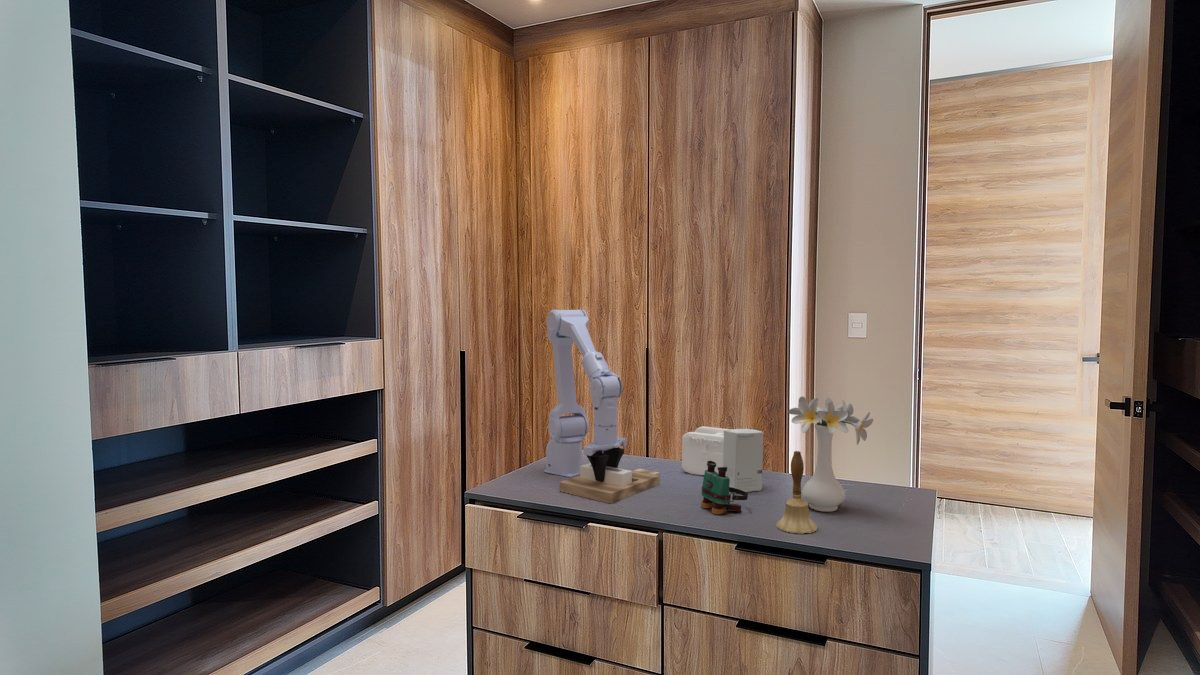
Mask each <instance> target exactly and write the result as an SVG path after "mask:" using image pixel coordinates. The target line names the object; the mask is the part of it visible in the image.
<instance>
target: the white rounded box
mask: <svg viewBox="0 0 1200 675" xmlns="http://www.w3.org/2000/svg"><path fill="white" fill-rule="evenodd" d="M724 430H730V428H723V427H722V428H721V427H713V426H704V425H702V426H700V427H697V428H695V430H694V431H689V432H686V433H684V434H683V435H682V437H681V468H682V470H683V471H684V472H686V473H688V474H690V475H694V474H695V475H696V476H704V473H705V470H708V466H707V461H713V462H715V463H716V467H715V472H717V473H718V467H723V450H724Z"/></svg>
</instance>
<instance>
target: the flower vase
mask: <svg viewBox="0 0 1200 675" xmlns="http://www.w3.org/2000/svg"><path fill="white" fill-rule="evenodd" d="M824 406H825V407H824V408H823V407H819V398H818V397H815V398H813V399H811V400H810V402H808V400H807V398H806V397H805V396H803V395H802V396H800V397H799V398H798V407H792V408H790V409H789V410H788V412H787V413H788V414H790V415H793V417H792V418H791V423H793V424H795V425H796V424H802V425H801V427H800V428H801V432H802V433H806V432H808V430H809V428H810V426H811V425H812V424H814V428H815V430H816V436H817V454H816V455H817V456H816V466H815V470H814V473H813V474H812V476H811V478H810V479H809V480H807V482H806V483H805V484H804V486H803V488H802V489H801V495H802V496H803V498H804V501H806V502H807V503H808V508H810V509H812V510H813V509H814V511H819V512H823V513H825V512H826V513H827V512H829V513H831V512H832V513H833V512H836V511H837V510H838V506H839V505H841V504H842V503H843V502H844V501H845V498H846V491H845V489H844V488H843V486H842V485H841V483H840V482H839V480H837V478H836V476H835V474H834V470H833V465H832V464H833V462H832V461H833V458H832V456H833V455H832V444H833V443H832V442H833V437H834V433H835V432H836V429H838V430H839V431H841V432H843V433H845V434H846V433H849V432H850V431H849V428H848V426H847V425H851V426H853V427H854V429H855V435H856V436H855V437H856V446H858V445H859V443H860V440H861V439H862V440H863V441H864V442H865V441H867V439H868V438H867V437H868V434H867V433H868V432H867V430H866V428H869V427H870V426H871V425H872V424H873V422H874V418H869V417H870V414H871V412H870V411H869V412H868V413H866V414H865V416H863V417H862V418H861V419H859V418H858V417H857V416H855V415H854V407H853V404H852V403H850V402H849V403H848V405H847V404H846V402H845V400H844V399H842V405H839V406H836V407H835V405H834V402H833V400H832V398H831V397H826V398H825V402H824Z"/></svg>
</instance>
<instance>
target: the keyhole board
mask: <svg viewBox="0 0 1200 675" xmlns="http://www.w3.org/2000/svg"><path fill="white" fill-rule="evenodd" d="M618 468H619V469H622V468H620V467H618ZM623 469H624V470H627V469H625V468H623ZM628 470H629V471H632V483H631V484H628V485H626V486H623V487H621V486H616V485H611V484H607V483H602V482H597V481H593V480H588V479H583V478H580V475H576V476H573V477H569V478H568V479H564V480H561V481H559V492H560V491H561V493H564V492H565V494H568V493H569V495H572V494H573V495H574V496H576V497H577V496H578V497H581V496H582V497H581V498H585V499H589V498H590V500H595V501H597V502H602V501H603V502H604V503H607V504H614V503H617V502H620V501H621V500H623V499H625V498H629V497H631V496H634V495H636V494H639V493H641V492H645V491H647V490H650V489H651V488H655V487H657V486H660V479H659V476H657V475H652V474H647V473H641V472H636V471H634V470H630V469H628ZM573 495H572V496H573Z"/></svg>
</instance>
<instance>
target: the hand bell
mask: <svg viewBox="0 0 1200 675" xmlns="http://www.w3.org/2000/svg"><path fill="white" fill-rule="evenodd" d="M801 453H802V452H801V451H798V450H795V451H794V452H793V455H792V458H791V462H790V474H791V477H792V497H791V498H790V499H787V501H786V502H785V506H784V511H783V515H782V517H781V518H780V519H779V520H778V521H777V522H776V525H775V526H776V528H777V529H778V528H779V529H778V530H780V531H782V530H783V532H785V531H786V532H785V533H788V532H790V534H794V533H797V535H798V534H799V535H800V534H801V535H805V534H804V533H809V534H812V533H815V531H816V532H817V531H818V526H817V524H816V523H815V522H814V521H813V519H812V517H811V515H810V509H809V508H810V507H809V502H807V501H806V500H805V499H803V498H802V479H803V475H804V460H803V457H802V454H801Z"/></svg>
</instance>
